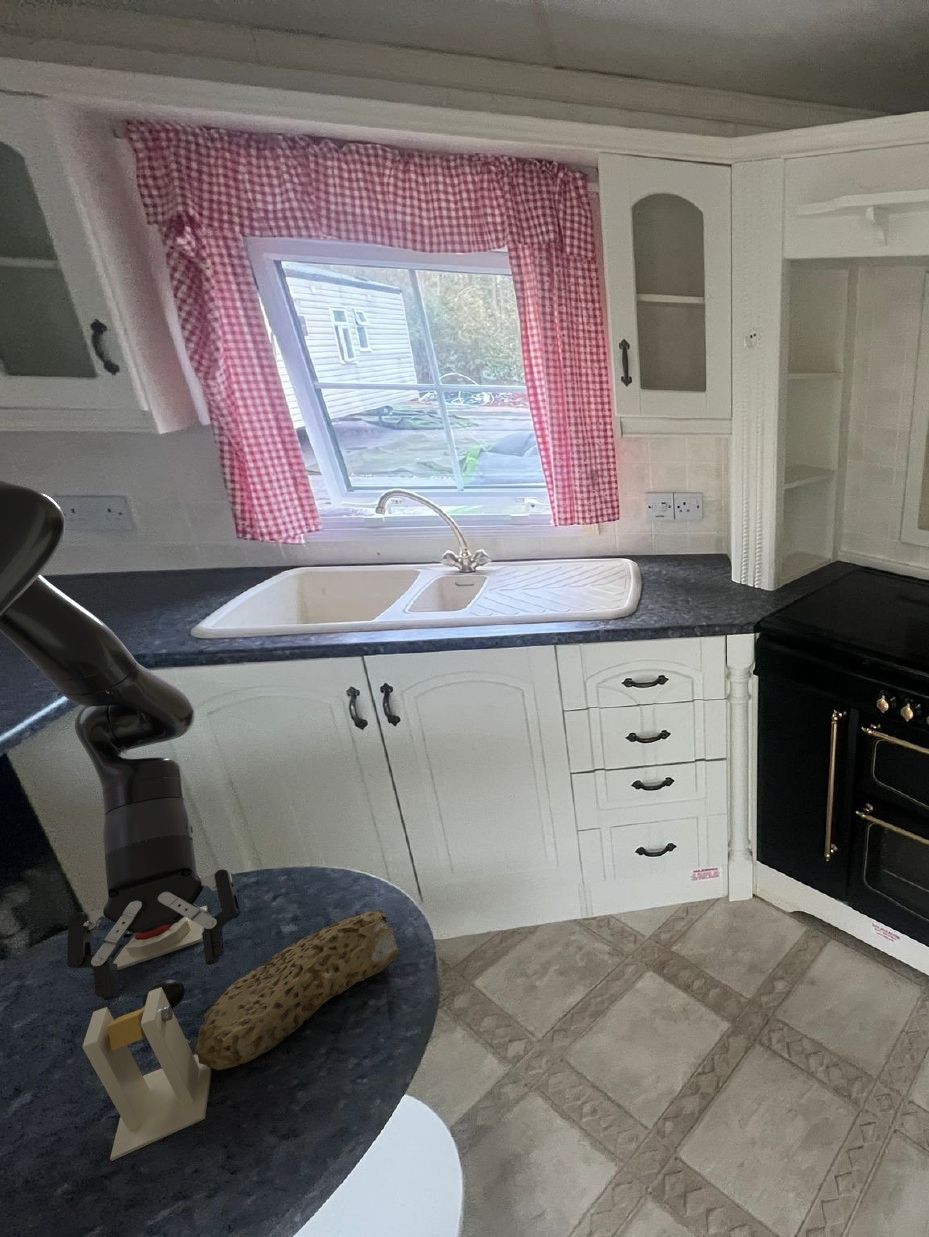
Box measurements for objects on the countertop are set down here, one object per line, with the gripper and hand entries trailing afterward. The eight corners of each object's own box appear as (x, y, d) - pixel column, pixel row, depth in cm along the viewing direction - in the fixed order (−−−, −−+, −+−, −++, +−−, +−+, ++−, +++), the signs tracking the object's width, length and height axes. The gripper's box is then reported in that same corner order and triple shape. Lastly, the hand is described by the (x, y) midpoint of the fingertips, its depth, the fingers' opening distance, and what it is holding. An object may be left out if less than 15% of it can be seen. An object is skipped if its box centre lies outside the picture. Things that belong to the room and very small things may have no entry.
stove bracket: (132, 1088, 72) (84, 999, 67) (216, 1053, 76) (178, 966, 71) (113, 1166, 65) (59, 1073, 60) (207, 1123, 69) (163, 1032, 64)
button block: (109, 978, 84) (100, 961, 83) (121, 940, 89) (113, 924, 88) (203, 946, 89) (196, 929, 88) (209, 912, 94) (203, 896, 93)
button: (134, 944, 86) (129, 934, 85) (139, 925, 88) (135, 916, 88) (172, 932, 88) (167, 922, 87) (176, 914, 90) (172, 904, 90)
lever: (151, 1014, 76) (145, 985, 76) (191, 999, 77) (185, 970, 78) (103, 1059, 64) (96, 1024, 64) (151, 1040, 66) (145, 1006, 66)
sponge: (378, 933, 93) (183, 1002, 78) (383, 892, 91) (182, 955, 76) (408, 1006, 86) (199, 1098, 71) (415, 963, 83) (199, 1049, 68)
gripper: (49, 862, 74) (59, 1013, 69) (217, 818, 82) (235, 951, 77) (80, 870, 80) (90, 1010, 75) (233, 828, 88) (251, 953, 83)
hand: (164, 980), depth 76 cm, fingers open, 8 cm apart
